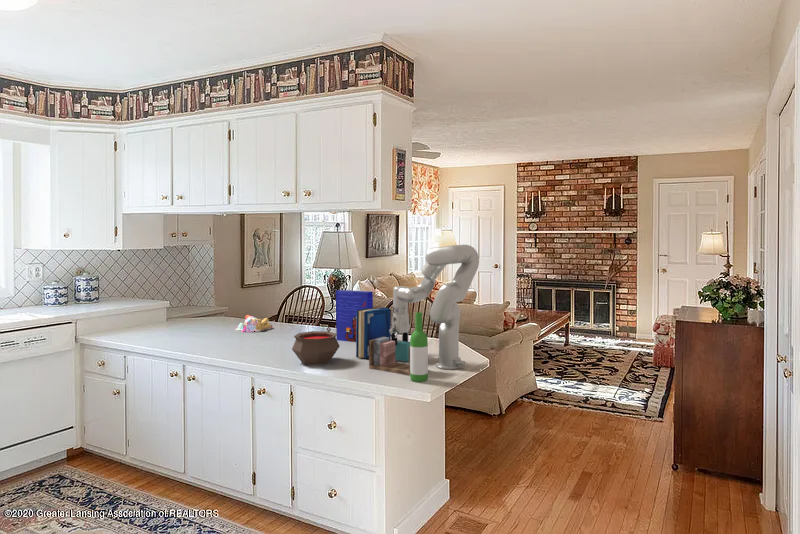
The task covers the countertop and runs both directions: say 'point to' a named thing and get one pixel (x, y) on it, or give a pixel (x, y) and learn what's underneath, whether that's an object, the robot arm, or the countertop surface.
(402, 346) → the teal book
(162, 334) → the countertop surface
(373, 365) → the shelf
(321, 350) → the brown bowl
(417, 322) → the wine bottle
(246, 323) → the candy landscape model
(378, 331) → the book
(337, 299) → the cereal box
